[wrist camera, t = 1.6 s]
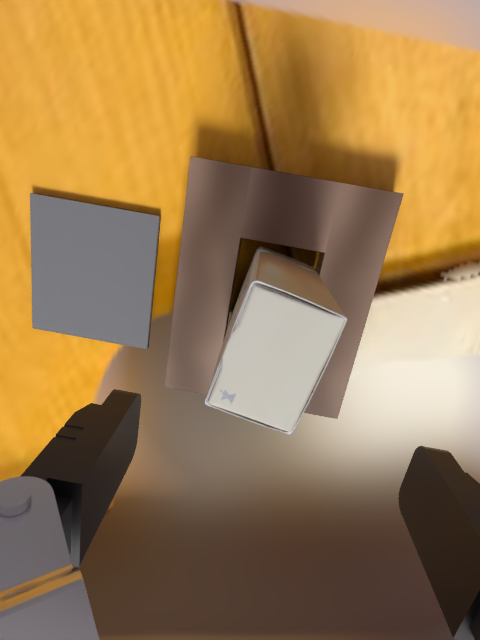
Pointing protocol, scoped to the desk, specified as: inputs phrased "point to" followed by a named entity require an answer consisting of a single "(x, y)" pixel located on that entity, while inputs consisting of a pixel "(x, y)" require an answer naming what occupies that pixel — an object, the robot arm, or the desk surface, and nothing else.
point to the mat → (93, 270)
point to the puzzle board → (284, 229)
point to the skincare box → (276, 343)
